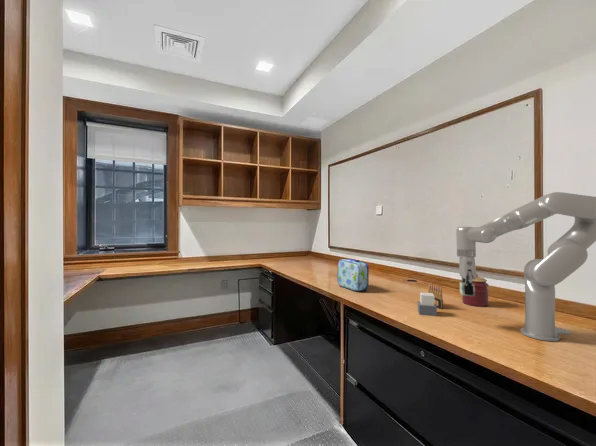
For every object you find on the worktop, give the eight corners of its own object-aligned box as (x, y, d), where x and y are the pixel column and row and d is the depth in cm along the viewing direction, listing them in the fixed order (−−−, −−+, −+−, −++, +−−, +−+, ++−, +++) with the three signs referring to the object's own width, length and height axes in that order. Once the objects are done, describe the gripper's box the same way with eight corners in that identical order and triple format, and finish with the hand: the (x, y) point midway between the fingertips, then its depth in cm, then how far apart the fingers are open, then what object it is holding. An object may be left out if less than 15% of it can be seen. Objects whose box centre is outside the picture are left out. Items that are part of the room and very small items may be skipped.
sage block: (471, 293, 132) (471, 282, 132) (475, 295, 127) (474, 284, 127) (459, 292, 133) (459, 282, 133) (462, 295, 128) (462, 284, 129)
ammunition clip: (443, 308, 154) (443, 286, 154) (440, 309, 153) (440, 287, 153) (429, 303, 164) (429, 282, 164) (427, 303, 164) (427, 282, 164)
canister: (473, 300, 172) (473, 271, 172) (494, 306, 160) (494, 274, 160) (456, 301, 168) (457, 272, 168) (476, 307, 156) (476, 275, 156)
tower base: (434, 312, 149) (434, 302, 149) (436, 316, 141) (436, 306, 141) (417, 310, 151) (417, 301, 151) (419, 315, 144) (419, 305, 144)
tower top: (432, 302, 148) (432, 293, 148) (434, 305, 143) (434, 296, 143) (420, 301, 150) (420, 292, 150) (421, 304, 145) (421, 295, 145)
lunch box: (371, 291, 191) (371, 260, 191) (358, 293, 186) (358, 261, 186) (347, 284, 215) (347, 256, 215) (335, 285, 210) (336, 257, 210)
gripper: (481, 255, 121) (482, 298, 121) (470, 251, 137) (471, 289, 137) (461, 255, 123) (462, 297, 123) (453, 251, 140) (454, 288, 139)
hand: (467, 292), depth 130 cm, fingers closed on sage block, 5 cm apart
